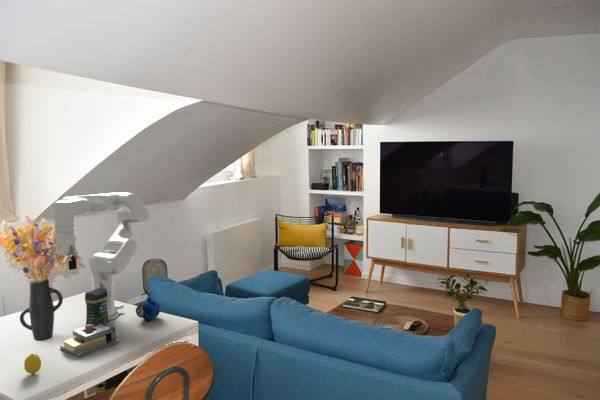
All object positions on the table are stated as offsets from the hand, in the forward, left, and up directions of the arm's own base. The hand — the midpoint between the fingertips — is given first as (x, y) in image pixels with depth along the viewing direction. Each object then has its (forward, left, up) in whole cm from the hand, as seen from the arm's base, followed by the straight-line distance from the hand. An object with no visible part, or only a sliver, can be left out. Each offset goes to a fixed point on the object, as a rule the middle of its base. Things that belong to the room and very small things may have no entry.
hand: (67, 267), depth 218 cm
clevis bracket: (+2, +19, -30) cm, 36 cm away
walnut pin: (+2, +19, -30) cm, 36 cm away
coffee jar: (-10, +5, -31) cm, 32 cm away
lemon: (+28, +25, -31) cm, 48 cm away
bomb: (-31, +14, -31) cm, 46 cm away
